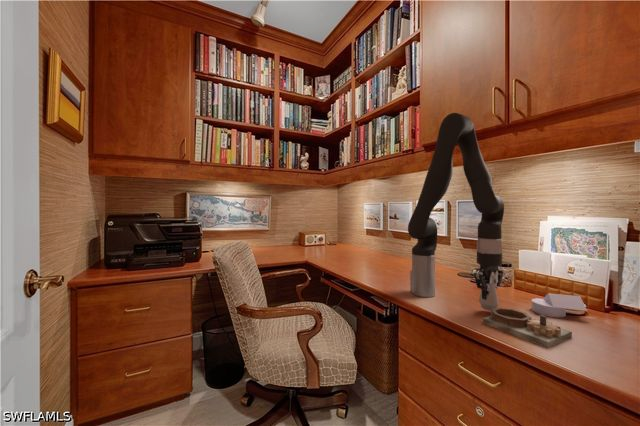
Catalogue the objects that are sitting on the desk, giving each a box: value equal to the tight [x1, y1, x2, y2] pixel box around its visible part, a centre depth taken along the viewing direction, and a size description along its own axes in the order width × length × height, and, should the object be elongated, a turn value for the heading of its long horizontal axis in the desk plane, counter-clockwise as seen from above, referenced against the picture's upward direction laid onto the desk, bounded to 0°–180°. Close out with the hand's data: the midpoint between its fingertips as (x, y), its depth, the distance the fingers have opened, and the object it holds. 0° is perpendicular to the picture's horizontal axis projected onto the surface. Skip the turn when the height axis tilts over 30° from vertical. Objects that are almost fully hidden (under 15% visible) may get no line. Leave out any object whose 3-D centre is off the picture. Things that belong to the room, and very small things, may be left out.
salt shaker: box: [478, 273, 499, 312], centre depth 91 cm, size 6×6×13 cm
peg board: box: [482, 307, 573, 349], centre depth 77 cm, size 17×13×6 cm
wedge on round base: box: [531, 292, 588, 318], centre depth 90 cm, size 9×7×13 cm
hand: (488, 299), depth 91 cm, fingers closed on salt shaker, 3 cm apart
